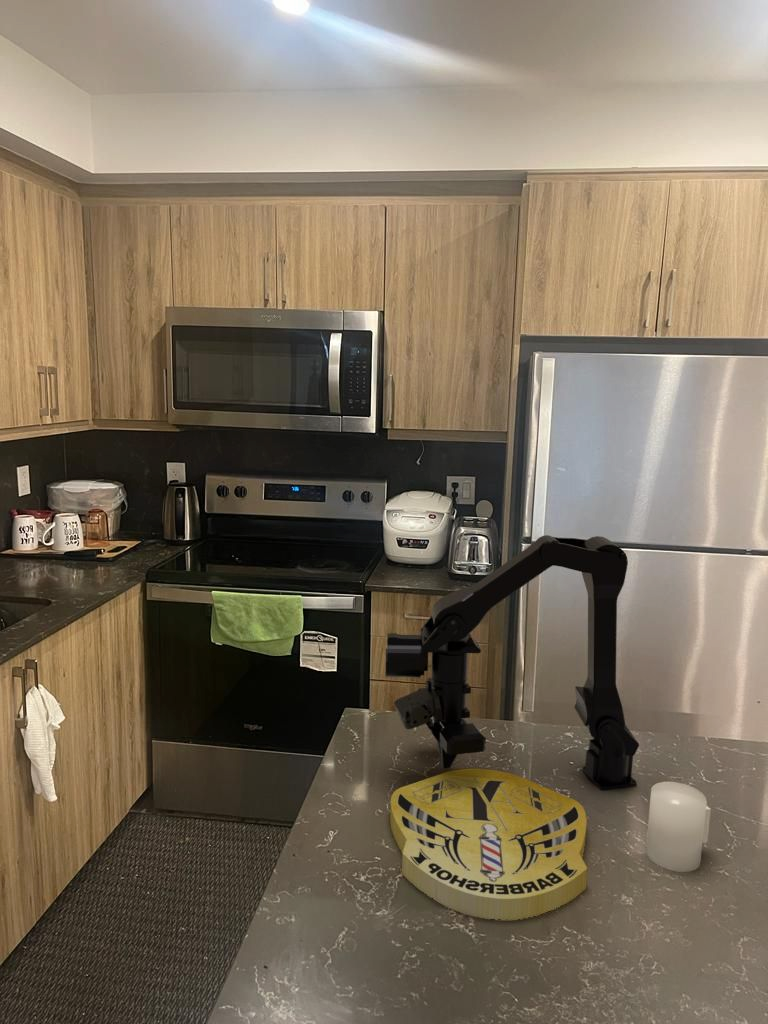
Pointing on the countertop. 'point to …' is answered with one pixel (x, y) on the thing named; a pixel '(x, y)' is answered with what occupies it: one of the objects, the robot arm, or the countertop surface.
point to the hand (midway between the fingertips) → (445, 767)
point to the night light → (677, 826)
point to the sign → (490, 843)
